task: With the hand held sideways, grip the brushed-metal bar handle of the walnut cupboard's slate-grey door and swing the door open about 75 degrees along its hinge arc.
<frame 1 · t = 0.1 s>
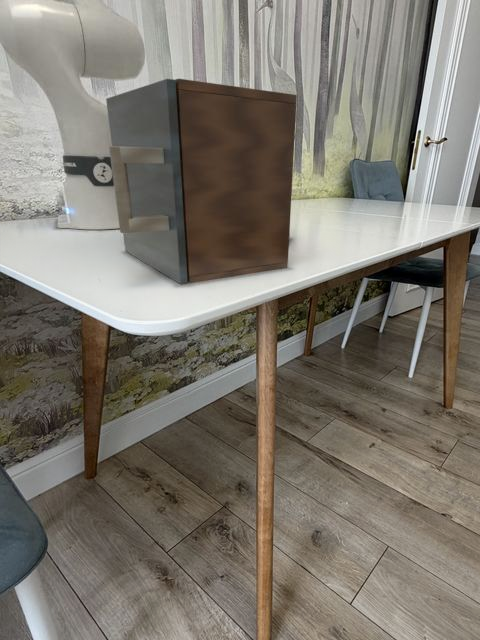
candy bar box: (273, 243, 76), on the table
door: (123, 186, 52), point 11 cm above the table, hinge at 0.0°
cupboard: (205, 259, 63), on the table
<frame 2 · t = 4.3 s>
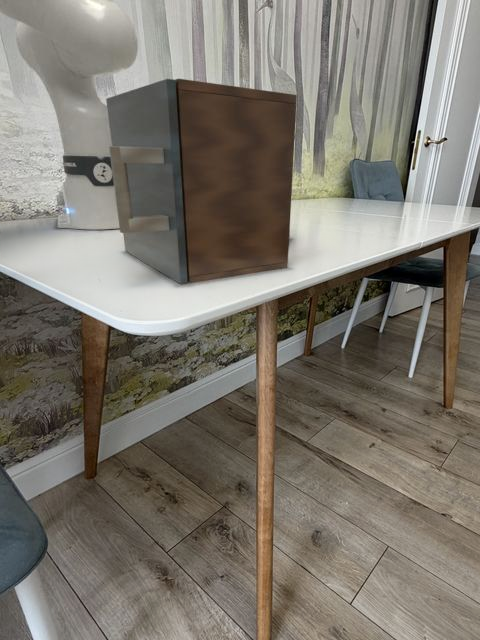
nothing on the table moved.
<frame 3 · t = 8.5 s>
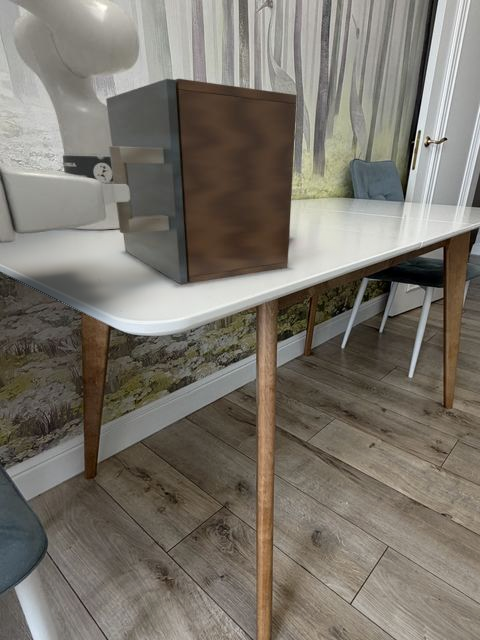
hand: (123, 191, 44), 11 cm above the table, tool horizontal, fingers closed on door, 2 cm apart
door: (123, 186, 52), point 11 cm above the table, hinge at 0.0°, touching gripper
everything else where it was.
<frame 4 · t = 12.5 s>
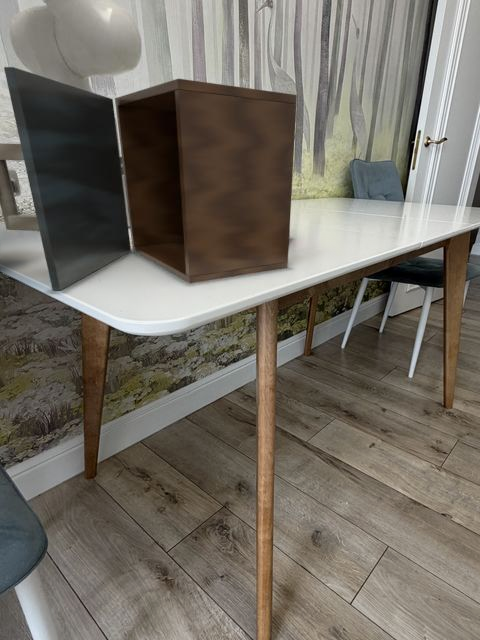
hand: (5, 188, 44), 11 cm above the table, tool horizontal, fingers closed on door, 2 cm apart
door: (64, 184, 51), point 11 cm above the table, hinge at 39.6°, touching gripper
everything else where it was.
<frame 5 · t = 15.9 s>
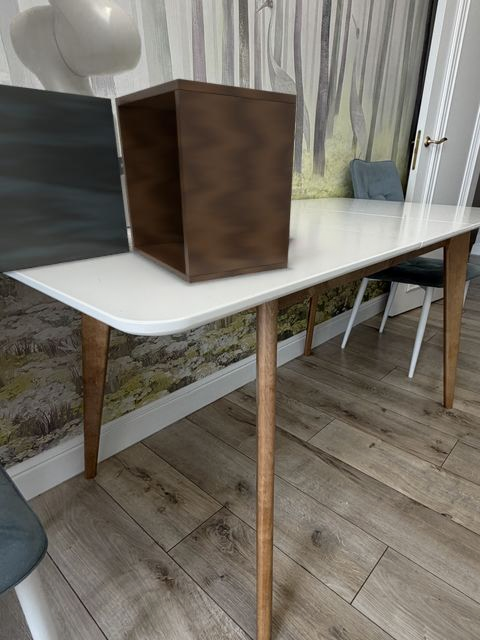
door: (37, 181, 55), point 11 cm above the table, hinge at 76.5°, touching gripper
everything else where it was.
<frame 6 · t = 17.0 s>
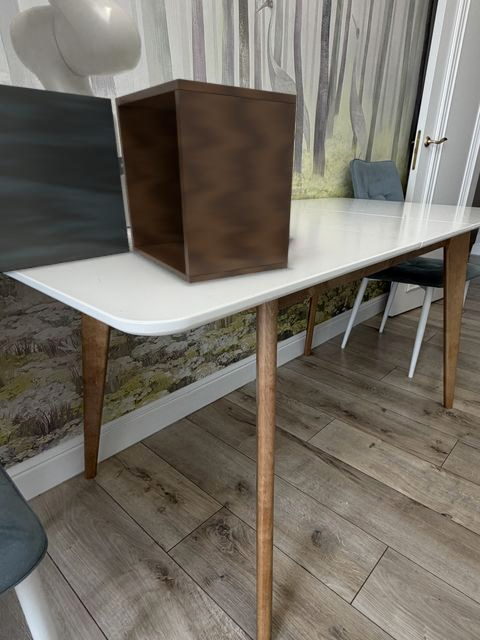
door: (37, 181, 55), point 11 cm above the table, hinge at 76.5°
everything else where it was.
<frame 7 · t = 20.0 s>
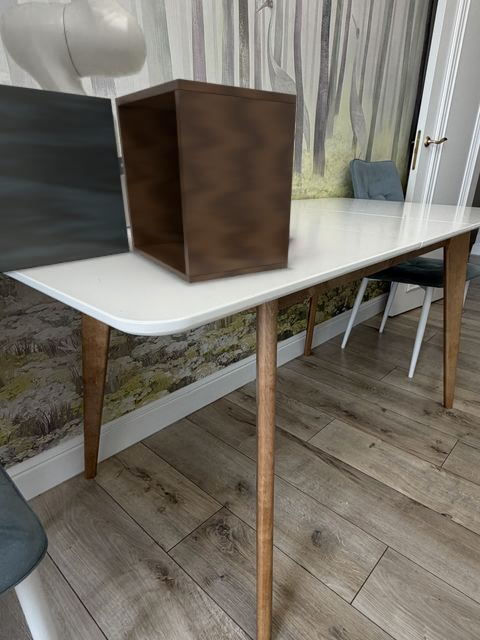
hand: (4, 113, 60), 20 cm above the table, tool tilted 65°, fingers open, 8 cm apart
nothing on the table moved.
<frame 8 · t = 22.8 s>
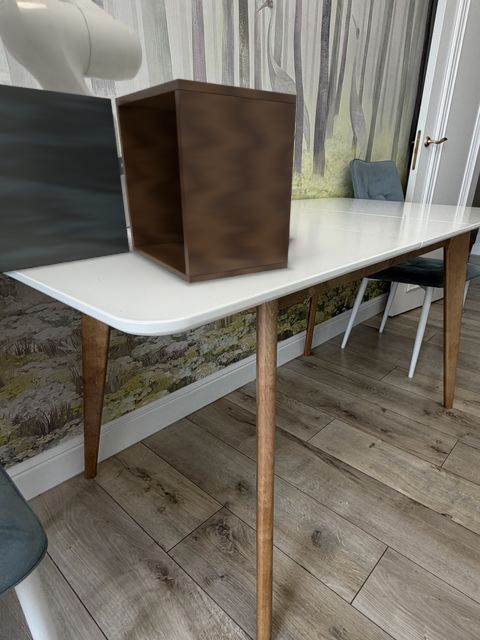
nothing on the table moved.
at the end: door at +76° (first picture: +0°); the gripper is holding nothing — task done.
